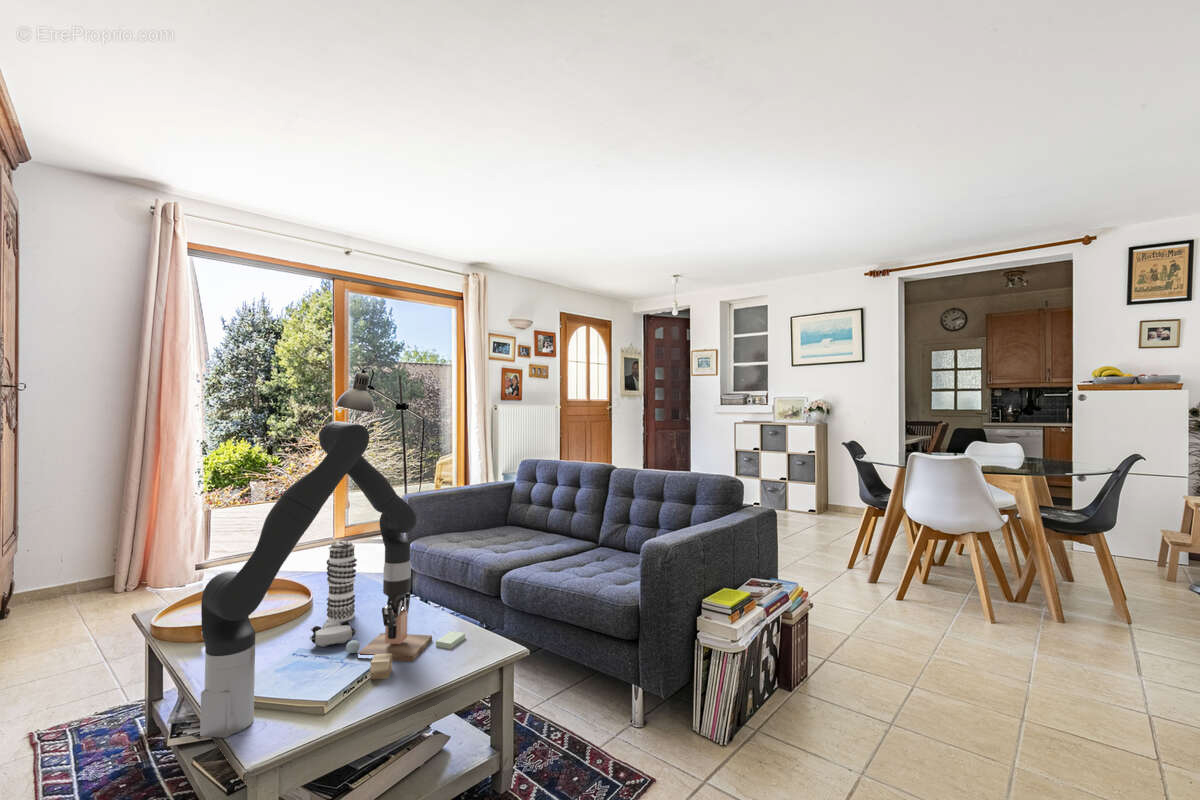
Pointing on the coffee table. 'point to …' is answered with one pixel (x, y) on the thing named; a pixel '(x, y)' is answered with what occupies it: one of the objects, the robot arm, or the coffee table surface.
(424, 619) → the coffee table surface
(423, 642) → the walnut board
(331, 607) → the grey banded tower model
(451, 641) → the sage flat block
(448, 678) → the coffee table surface
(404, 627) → the terracotta block
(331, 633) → the robot toy
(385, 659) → the beech cube
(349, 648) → the grey ball
